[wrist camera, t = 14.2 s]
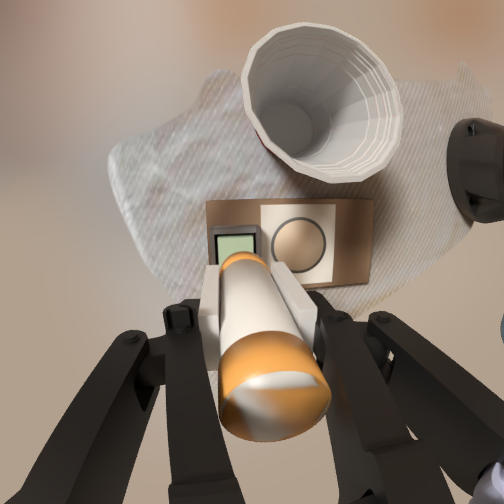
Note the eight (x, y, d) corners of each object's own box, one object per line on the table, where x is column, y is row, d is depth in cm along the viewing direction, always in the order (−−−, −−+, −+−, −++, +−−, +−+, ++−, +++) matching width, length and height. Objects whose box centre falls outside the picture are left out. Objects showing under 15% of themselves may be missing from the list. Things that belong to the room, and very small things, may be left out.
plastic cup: (351, 167, 26) (428, 164, 14) (252, 196, 26) (277, 208, 14) (319, 71, 23) (374, 18, 11) (217, 93, 23) (215, 32, 11)
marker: (268, 250, 18) (339, 361, 7) (268, 296, 19) (322, 433, 7) (217, 252, 18) (212, 374, 6) (220, 298, 19) (223, 445, 7)
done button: (250, 232, 25) (253, 237, 23) (251, 264, 26) (253, 270, 24) (218, 234, 25) (217, 238, 23) (219, 265, 26) (219, 272, 24)
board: (369, 199, 27) (384, 202, 24) (364, 279, 29) (377, 288, 26) (206, 200, 25) (204, 203, 22) (211, 290, 28) (210, 302, 25)
